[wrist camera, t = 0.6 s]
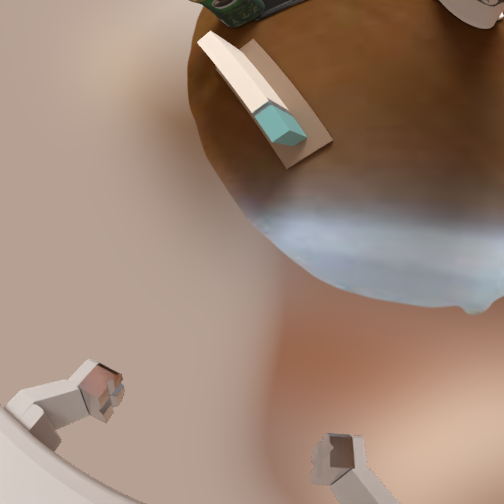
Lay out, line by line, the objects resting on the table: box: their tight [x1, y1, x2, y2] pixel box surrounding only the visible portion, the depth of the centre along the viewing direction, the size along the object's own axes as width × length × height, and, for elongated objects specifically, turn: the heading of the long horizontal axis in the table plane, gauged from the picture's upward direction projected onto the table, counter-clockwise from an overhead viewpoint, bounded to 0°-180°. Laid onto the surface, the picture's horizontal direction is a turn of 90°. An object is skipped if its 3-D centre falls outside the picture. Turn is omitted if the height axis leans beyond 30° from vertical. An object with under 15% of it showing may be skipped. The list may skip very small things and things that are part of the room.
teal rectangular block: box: [253, 102, 307, 146], centre depth 39 cm, size 5×3×12 cm, turn 34°
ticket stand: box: [197, 31, 333, 169], centre depth 39 cm, size 26×10×13 cm, turn 34°
